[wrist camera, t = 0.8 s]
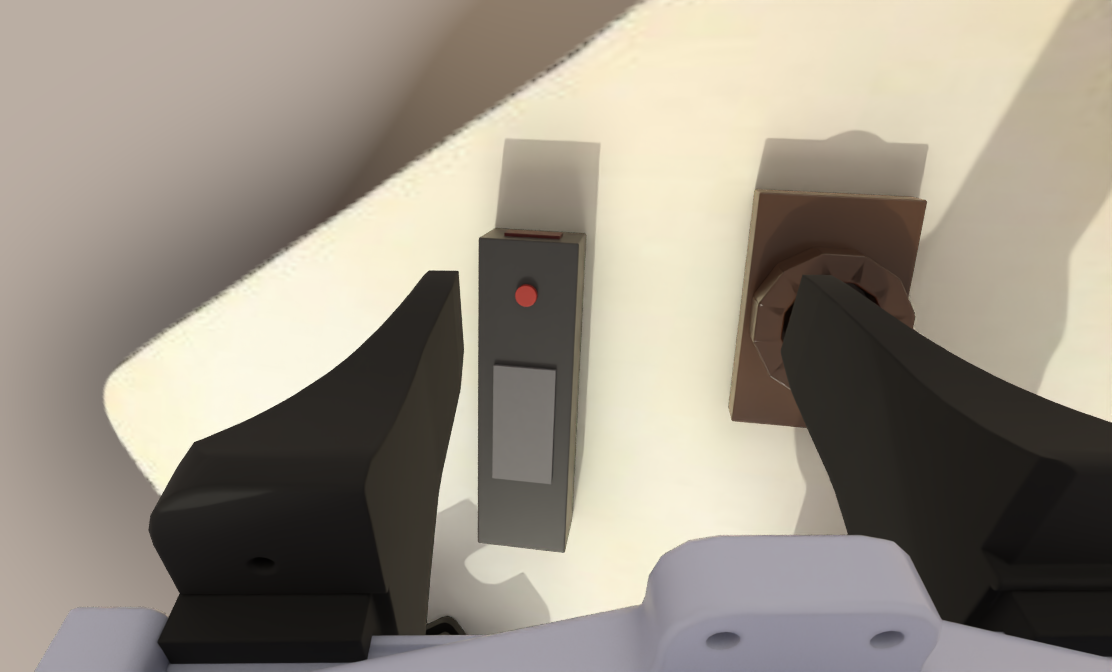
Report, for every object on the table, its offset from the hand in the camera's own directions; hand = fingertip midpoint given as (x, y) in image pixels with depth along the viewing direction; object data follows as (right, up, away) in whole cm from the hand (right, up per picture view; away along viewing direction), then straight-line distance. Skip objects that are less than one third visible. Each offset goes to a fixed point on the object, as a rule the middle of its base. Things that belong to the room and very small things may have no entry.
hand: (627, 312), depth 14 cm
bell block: (+11, +1, +18) cm, 21 cm away
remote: (-3, -3, +22) cm, 22 cm away
